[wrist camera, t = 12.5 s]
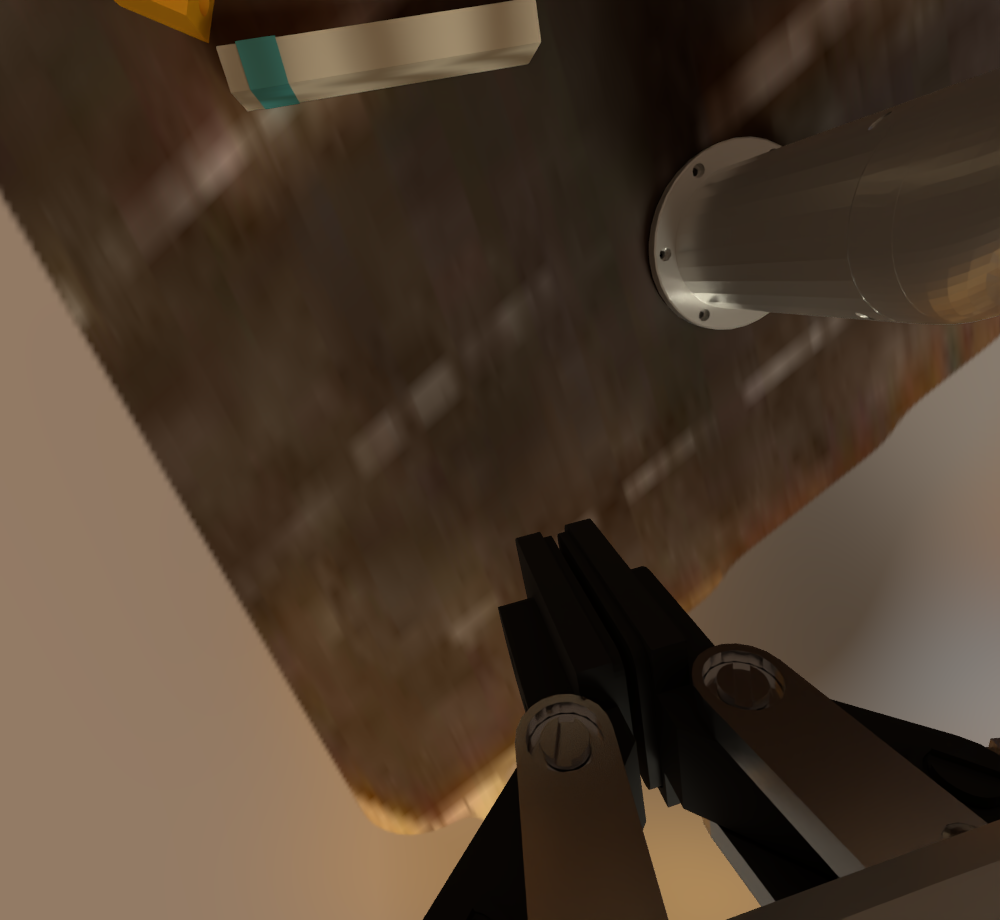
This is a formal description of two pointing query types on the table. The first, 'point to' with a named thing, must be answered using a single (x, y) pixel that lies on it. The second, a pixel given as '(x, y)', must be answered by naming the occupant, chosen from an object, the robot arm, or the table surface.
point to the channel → (380, 54)
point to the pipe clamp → (176, 14)
